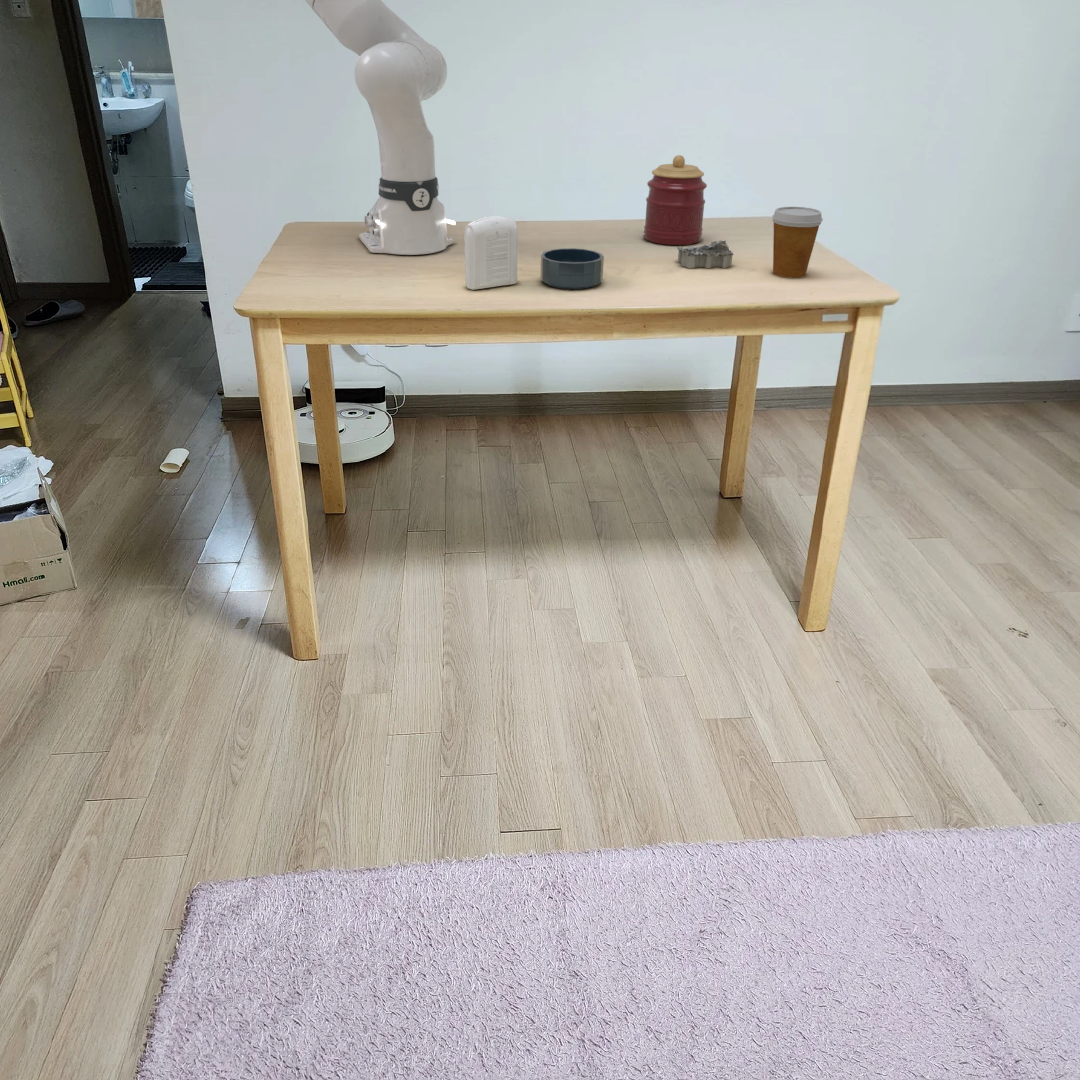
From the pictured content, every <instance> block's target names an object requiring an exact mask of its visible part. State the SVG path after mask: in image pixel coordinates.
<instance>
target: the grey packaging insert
mask: <svg viewBox="0 0 1080 1080" xmlns="http://www.w3.org/2000/svg"><path fill="white" fill-rule="evenodd" d="M676 249H677V251H678V253H677V262H678V263H679V264H680V263H681V264H680V265H681V266H682V267H685V268H689V269H695V268H696V267H697V268H698V267H699V268H701V267H702V268H705V269H711V268H712V267H713V268H714V267H718V268H722V269H726V268H728V267H731V266H732V261H733V256H734V255H735V254H734V252H733V251H732V250H730V248H729V245H728V243H727V240H718V241H717V240H715V241H711V242H710V244H702V245H701V246H690V247H689V246H688V247H687V248H683V246H682V247H681V246H677V247H676Z"/></svg>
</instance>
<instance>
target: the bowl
mask: <svg viewBox="0 0 1080 1080" xmlns="http://www.w3.org/2000/svg"><path fill="white" fill-rule="evenodd" d="M604 259H605V257H604V255H603V254H602V253H601V252H598V251H595V250H591V249H587V248H576V247H575V248H573V247H567V248H554V249H549V250H545V251H543V252H542V253H541V254H540V279H541V281H542V282H543V283H544V284H547V285H548V286H550V287H553V288H558V289H564V290H584V289H590V288H593V287H595V286H596V285H599V284H601V283H602V281H603V280H604V264H605V263H604V262H605V261H604Z"/></svg>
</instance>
